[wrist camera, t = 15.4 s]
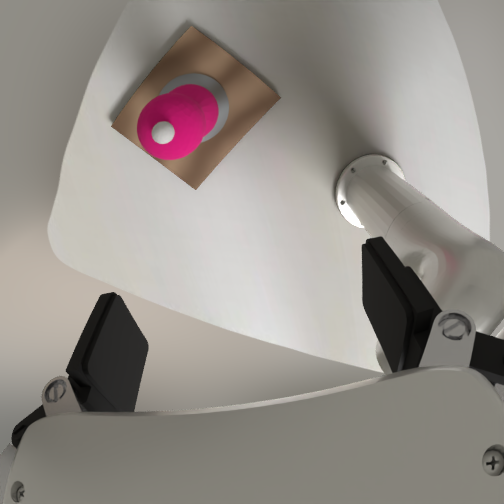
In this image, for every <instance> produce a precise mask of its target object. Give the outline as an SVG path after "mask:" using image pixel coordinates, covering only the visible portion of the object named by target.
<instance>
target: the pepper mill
mask: <svg viewBox="0 0 504 504" xmlns="http://www.w3.org/2000/svg"><path fill="white" fill-rule="evenodd" d="M218 115H219V108H218V104H217V101H216V99H215V97H214V96H213V94H212V93H211V92H210V91H209V90H207V89H206V88H204V87H202V86H199V85H195V84H186V85H181V86H179V87H176V88H175V89H173V90H172V91H170V92H169V93H166V94H162V95H159V96H157V97H155V98H154V99H152V100H151V101H150V102H148V103H147V104H146V106H145V107H144V108H143V109H142V111H141V113H140V115H139V118H138V122H137V135H138V139H139V141H140V143H141V145H142V146H143V148H144V149H145V150H146V151H147V152H148V153H149V154H151V155H152V156H154V157H156V158H159V159H163V160H176V159H180V158H183V157H185V156H187V155H189V154H190V153H191V152H193V151H194V150H195V149H196V148H197V147H198V146H199V144H200V143H201V141H202V139H203V137H204V136H206V135H207V134H208V133H209V132H210V131H211V130H212V129H213V128H214V126H215V124H216V122H217V119H218Z"/></svg>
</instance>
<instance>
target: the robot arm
mask: <svg viewBox="0 0 504 504" xmlns="http://www.w3.org/2000/svg"><path fill="white" fill-rule="evenodd" d="M382 161H383V162H382ZM351 168H353V169H352V170H351ZM335 195H336V203H337V207H338V209H339V211H340V213H341V214H342V215H343V217H344V218H345V219H346V220H347V221H348V222H350V223H351V224H353V225H355V226H358V227H362V228H365V230H366V231H367V232H368V233H369V235H370V236H371V237H372V238H370V239H367V240H366V244H363V245H362V300H363V306H364V309H365V312H366V314H367V316H368V318H369V320H370V323H371V325H372V327H373V329H374V331H375V334H376V336H377V338H378V341H377V345H376V357H377V360H378V363H379V365H380V367H381V369H382V370H383V372H384V373H385V375H383V376H379V377H375V378H371V379H368V380H364V381H360V382H356V383H351V384H347V385H343V386H339V387H334V388H330V389H325V390H321V391H316V392H311V393H306V394H301V395H296V396H291V397H285V398H279V399H273V400H267V401H261V402H254V403H246V404H239V405H231V406H222V407H212V408H202V409H190V410H174V411H152V412H134V409H135V405H136V400H137V395H138V391H139V386H140V382H141V378H142V374H143V369H144V365H145V361H146V357H147V352H148V342H147V340H146V338H145V337H144V335H143V334H142V332H141V331H140V329H139V327H138V326H137V324H136V322H135V320H134V319H133V317H132V315H131V313H130V312H129V310H128V308H127V307H126V305H125V303H124V301H123V299H122V298H121V296H119V295H117V294H116V293H114V292H111V293H106V294H102V295H100V297H99V299H98V301H97V303H96V305H95V307H94V309H93V311H92V313H91V315H90V317H89V319H88V321H87V324H86V326H85V328H84V330H83V332H82V334H81V336H80V339H79V341H78V343H77V345H76V347H75V350H74V352H73V354H72V357H71V359H70V361H69V364H68V366H67V369H66V372H67V373H68V374H69V376H68V379H67V378H66V377H63V376H59V377H55V378H53V379H52V380H50V381H49V382H48V383H47V384H46V386H45V387H44V389H43V391H42V403H43V405H41V406H40V407H39V408H38V409H36V410H35V411H34V412H33V413H31V414H30V415H29V416H27V417H26V418H25V419H23V420H22V421H21V422H20V423H19V424H18V425H16V426H15V428H14V430H13V433H12V444H13V445H11V444H10V443H9V444H8V445H7V447H6V448H5V449H4V451H3V452H2V453H1V454H0V504H504V327H503V329H502V330H501V331H500V332H499V333H498V334H497V336H496V337H493V336H490V335H491V333H492V332H493V331H494V330H495V328H496V327H497V326H498V325H499V324H500V323H501V321H502V320H503V319H504V252H503V251H502V250H501V249H500V248H498V247H497V246H496V245H494V244H493V243H491V242H489V241H488V240H486V239H484V238H483V237H481V236H479V235H478V234H476V233H474V232H473V231H471V230H470V229H468V228H467V227H465V226H463V225H462V224H461V223H459V222H458V221H457V220H455V219H454V218H453V217H451V216H450V215H449V214H447V213H446V212H445V211H444V210H443V209H441V208H440V207H439V206H437V205H436V204H435V203H434V202H432V201H431V200H430V199H429V198H427V197H426V196H425V195H423V194H422V193H421V192H420V191H418V190H417V189H416V188H414V187H413V186H412V185H410V184H409V183H407V182H406V180H405V176H404V174H403V172H402V170H401V168H400V167H399V166H398V165H397V164H396V163H395V162H394V161H392V160H391V159H389V158H387V157H385V156H382V155H376V154H371V155H365V156H362V157H359V158H357V159H356V160H354V161H352V162H351V163H350V164H349V165H348V166H347V167H346V168H345V169H344V171H343V172H342V174H341V176H340V177H339V179H338V182H337V186H336V192H335ZM341 200H342V201H341ZM340 201H341V202H340Z"/></svg>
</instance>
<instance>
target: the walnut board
mask: <svg viewBox="0 0 504 504" xmlns="http://www.w3.org/2000/svg"><path fill="white" fill-rule="evenodd" d="M186 84H195V85H199V86H202V87H204V88H206V89H207V90H209V91H210V92H211V93H212V94H213V96H214V97H215V99H216V101H217V104H218V108H219V115H218V119H217V122H216V124H215V126H214V128H213V129H212V130H211V131H210V132H209V133H208V134H207V135H206V136H204V137H203V139H202V141H201V143H200V144H199V146H198V147H197V148H196V149H195V150H194V151H193V152H191V153H190V154H189V155H187V156H185V157H183V158H180V159H176V160H163V159H159V158H156V157H154V156H152V155H151V154H149V153H148V152H147V151H146V150H145V149H144V148H143V146H142V145H141V143H140V141H139V139H138V135H137V122H138V118H139V115H140V113H141V111H142V109H143V108H144V107H145V106H146V104H147V103H148V102H150V101H151V100H152V99H154V98H155V97H157V96H159V95H162V94H166V93H169V92H170V91H172V90H173V89H175V88H176V87H179V86H181V85H186ZM280 98H281V97H280V96H279V95H277V94H276V93H275V92H274V91H273V90H272V89H271V88H270V87H268V86H267V85H266V84H265V83H264V82H263V81H262V80H260V79H259V78H258V77H257V76H256V75H254V74H253V73H252V72H251V71H250V70H248V69H247V68H246V67H245V66H244V65H242V64H241V63H240V62H239V61H237V60H236V59H235V58H234V57H232V56H231V55H230V54H229V53H227V52H226V51H225V50H223V49H222V48H221V47H220V46H218V45H217V44H216V43H214V42H213V41H212V40H210V39H209V38H208V37H206V36H205V35H203V34H202V33H201V32H199V31H198V30H197V29H195V28H194V27H192V26H191V27H190V28H189V29H188V30H187V31H186V32H185V33H184V34H183V35H182V36H181V37H180V38H179V40H178V41H177V42H176V43H175V44H174V45H173V46H172V47H171V49H170V50H169V51H168V52H167V53H166V54H165V55H164V57H163V58H162V59H161V60H160V61H159V63H158V64H157V65H156V66H155V67H154V69H153V70H152V71H151V72H150V74H149V75H148V76H147V77H146V79H145V80H144V81H143V82H142V84H141V85H140V86H139V88H138V89H137V90H136V92H135V93H134V94H133V96H132V97H131V98H130V100H129V101H128V103H127V104H126V105H125V107H124V108H123V110H122V111H121V112H120V114H119V115H118V117H117V118H116V120H115V121H114V123H113V124H112V126H111V127H112V128H114V129H115V130H117V131H118V132H119V133H121V134H122V135H123V136H125V137H126V138H127V139H129V140H130V141H131V142H133V143H134V144H135V145H137V146H138V147H139V148H141V149H142V150H143V151H145V152H146V153H147V154H149V155H150V156H151V157H153V158H154V159H155V160H157V161H158V162H159V163H161V164H162V165H163V166H165V167H166V168H167V169H169V170H170V171H171V172H173V173H174V174H175V175H177V176H178V177H179V178H180V179H182V180H183V181H184V182H186V183H187V184H188V185H190V186H191V187H192V188H194V189H195V190H196V189H197V188H198V187H199V186H200V185H201V183H202V182H203V181H204V180H205V179H206V178H207V176H208V175H209V174H210V173H211V172H212V171H213V170H214V168H215V167H216V166H217V165H218V164H219V163H220V162H221V161H222V159H223V158H224V157H225V156H226V155H227V154H228V153H229V152H230V151H231V150H232V148H233V147H234V146H235V145H236V144H237V143H238V142H239V141H240V140H241V139H242V138H243V136H244V135H245V134H246V133H247V132H248V131H249V130H250V129H251V128H252V127H253V126H254V125H255V124H256V123H257V122H258V121H259V120H260V119H261V118H262V116H263V115H264V114H265V113H266V112H267V111H268V110H269V109H270V108H271V107H272V106H273V105H274V104H275V103H276V102H277V101H278V100H279V99H280Z"/></svg>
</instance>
